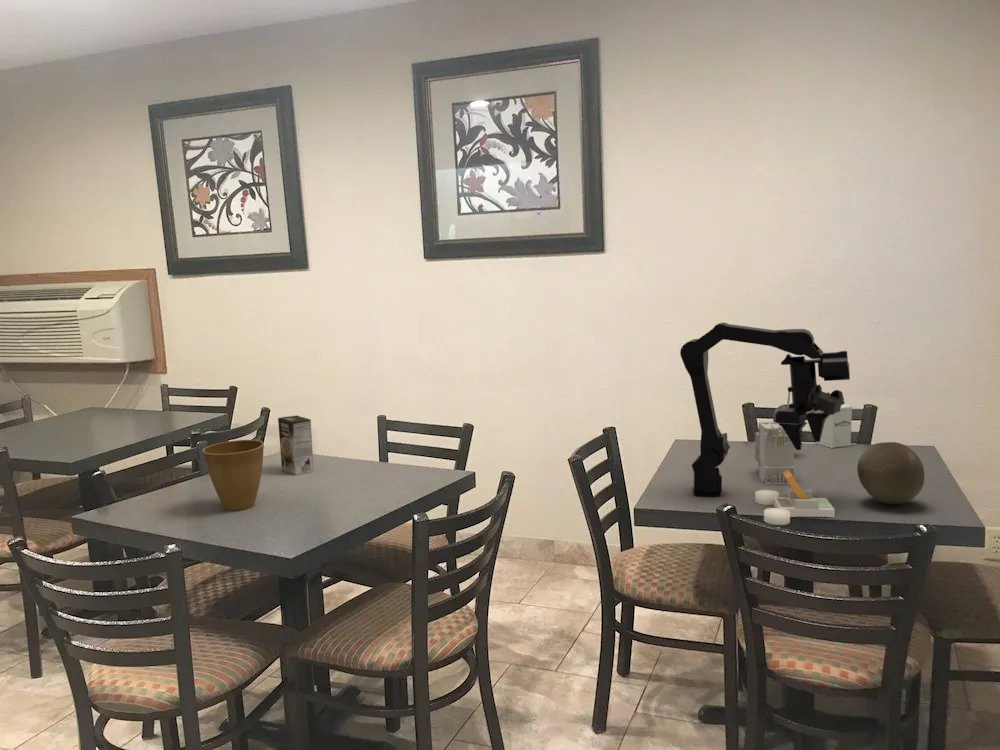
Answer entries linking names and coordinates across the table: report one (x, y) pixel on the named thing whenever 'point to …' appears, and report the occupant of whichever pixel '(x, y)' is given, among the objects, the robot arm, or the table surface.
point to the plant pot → (235, 471)
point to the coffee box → (296, 444)
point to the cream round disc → (777, 516)
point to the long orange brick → (794, 484)
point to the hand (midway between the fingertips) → (808, 445)
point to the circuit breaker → (773, 453)
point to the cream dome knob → (765, 497)
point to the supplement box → (837, 429)
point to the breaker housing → (804, 505)
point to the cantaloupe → (891, 472)
